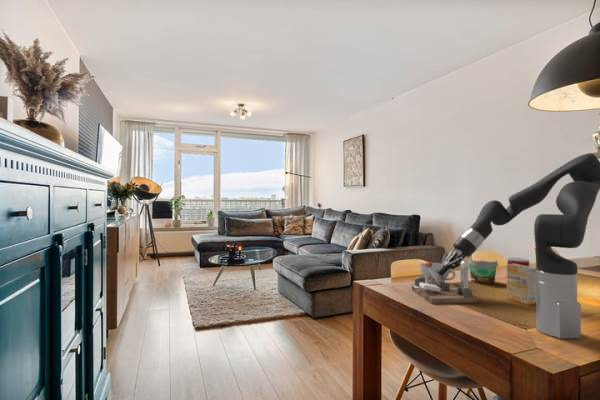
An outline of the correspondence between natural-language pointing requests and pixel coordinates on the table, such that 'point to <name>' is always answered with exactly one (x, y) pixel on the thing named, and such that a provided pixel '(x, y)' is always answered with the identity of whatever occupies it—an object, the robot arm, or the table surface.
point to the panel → (445, 294)
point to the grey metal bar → (464, 276)
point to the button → (419, 280)
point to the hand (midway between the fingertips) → (439, 273)
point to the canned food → (518, 261)
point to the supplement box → (521, 283)
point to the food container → (483, 271)
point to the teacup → (436, 266)
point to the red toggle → (433, 273)
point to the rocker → (430, 287)
